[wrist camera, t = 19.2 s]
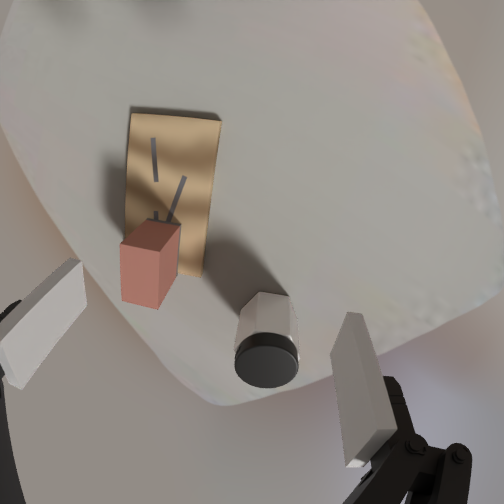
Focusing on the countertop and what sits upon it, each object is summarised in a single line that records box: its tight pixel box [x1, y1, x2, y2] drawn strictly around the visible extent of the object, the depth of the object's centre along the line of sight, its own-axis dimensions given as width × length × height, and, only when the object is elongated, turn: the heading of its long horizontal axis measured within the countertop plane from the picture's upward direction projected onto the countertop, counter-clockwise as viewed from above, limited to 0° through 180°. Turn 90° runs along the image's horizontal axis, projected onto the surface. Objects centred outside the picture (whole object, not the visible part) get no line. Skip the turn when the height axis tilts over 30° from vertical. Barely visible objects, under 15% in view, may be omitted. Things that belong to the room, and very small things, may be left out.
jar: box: [234, 292, 300, 388], centre depth 44 cm, size 9×8×12 cm
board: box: [125, 113, 222, 278], centre depth 42 cm, size 22×12×1 cm, turn 171°
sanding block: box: [120, 218, 181, 310], centre depth 40 cm, size 8×5×9 cm, turn 170°
